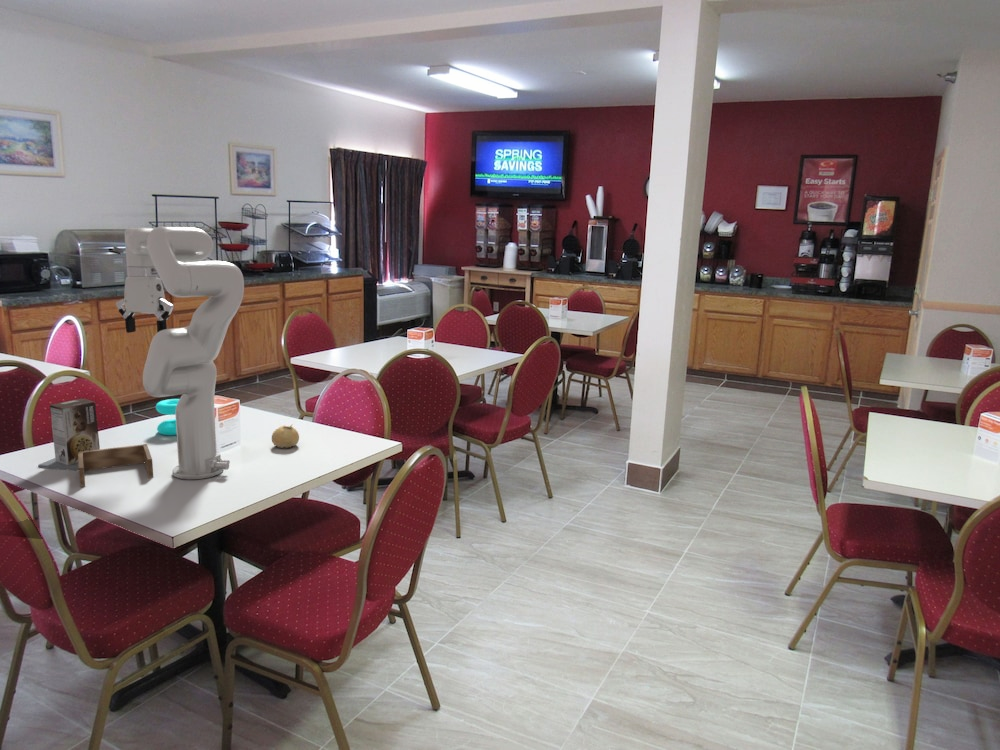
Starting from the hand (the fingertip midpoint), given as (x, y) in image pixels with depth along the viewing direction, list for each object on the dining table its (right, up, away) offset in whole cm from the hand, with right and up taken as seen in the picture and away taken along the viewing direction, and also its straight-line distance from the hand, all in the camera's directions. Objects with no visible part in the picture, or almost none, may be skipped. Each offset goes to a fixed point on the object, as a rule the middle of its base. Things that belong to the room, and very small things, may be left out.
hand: (146, 333), depth 199 cm
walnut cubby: (0, -38, -15) cm, 41 cm away
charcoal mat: (-15, -36, -7) cm, 40 cm away
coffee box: (-15, -36, -7) cm, 39 cm away
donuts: (-3, -30, +23) cm, 38 cm away
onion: (+36, -34, +13) cm, 51 cm away
